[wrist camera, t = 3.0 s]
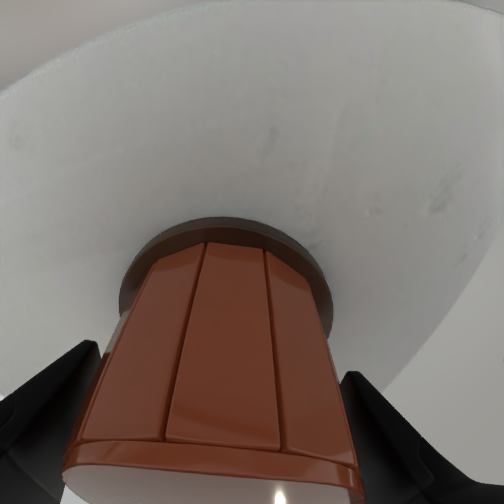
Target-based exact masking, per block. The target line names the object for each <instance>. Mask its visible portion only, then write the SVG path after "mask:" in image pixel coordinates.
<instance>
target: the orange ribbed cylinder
mask: <svg viewBox="0 0 504 504" xmlns="http://www.w3.org/2000/svg"><path fill="white" fill-rule="evenodd" d="M63 458H64V462H63V465H62V468H61V471H60V472H61V478H62V480H63V482H64V483H65V484H66V486H67V487H68V488H69V489H70V490H71V491H72V492H74V493H75V494H76V495H77V496H79V497H80V498H82V499H83V500H84V501H86V502H87V503H89V504H365V502H366V493H365V488H364V485H365V484H364V480H363V475H362V471H361V467H360V462H359V458H358V454H357V450H356V446H355V441H354V437H353V433H352V429H351V425H350V421H349V418H348V414H347V410H346V406H345V402H344V398H343V395H342V391H341V387H340V384H339V380H338V376H337V373H336V369H335V365H334V362H333V358H332V355H331V351H330V348H329V344H328V341H327V337H326V334H325V331H324V327H323V324H322V321H321V317H320V314H319V311H318V308H317V305H316V302H315V299H314V296H313V293H312V290H311V288H310V285H309V283H308V282H307V281H306V278H304V277H303V276H302V275H300V274H299V273H297V272H296V271H295V270H293V269H292V268H291V267H289V266H288V265H286V264H285V263H284V262H282V261H281V260H280V259H278V258H277V257H275V256H274V255H273V254H271V253H270V252H268V251H266V252H265V253H264V254H263V249H260V248H252V247H245V246H237V245H229V244H222V243H214V242H208V244H207V247H206V245H205V244H204V243H200V244H198V245H195V246H193V247H190V248H187V249H185V250H182V251H179V252H177V253H174V254H172V255H169V256H166V257H164V258H161V259H159V260H158V261H157V262H156V263H153V265H152V266H151V268H150V269H149V271H148V272H147V273H146V275H145V276H144V278H143V279H142V281H141V282H140V284H139V285H138V287H137V288H136V290H135V291H134V293H133V294H132V296H131V298H130V300H129V302H128V304H127V306H126V308H125V310H124V312H123V314H122V316H121V318H120V320H119V322H118V324H117V327H116V329H115V331H114V333H113V335H112V337H111V339H110V341H109V343H108V346H107V348H106V350H105V352H104V354H103V357H102V359H101V361H100V363H99V365H98V368H97V370H96V372H95V375H94V377H93V379H92V382H91V384H90V386H89V389H88V391H87V393H86V396H85V398H84V401H83V403H82V406H81V408H80V411H79V413H78V416H77V418H76V421H75V423H74V426H73V429H72V431H71V434H70V437H69V439H68V442H67V445H66V448H65V450H64V453H63Z"/></svg>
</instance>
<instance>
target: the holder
mask: <svg viewBox="0 0 504 504" xmlns="http://www.w3.org/2000/svg"><path fill="white" fill-rule="evenodd" d="M208 242H214V243H222V244H229V245H237V246H245V247H252V248H260V249H263V254H264V253H265V252H266V251H268V252H270V253H271V254H273V255H274V256H275V257H277V258H278V259H280V260H281V261H282V262H284V263H285V264H286V265H288V266H289V267H291V268H292V269H293V270H295V271H296V272H297V273H299V274H300V275H302V276H303V277H304V278H306V281H307V282H308V283H309V285H310V288H311V290H312V293H313V296H314V299H315V302H316V305H317V308H318V311H319V314H320V317H321V321H322V324H323V327H324V331H325V334H326V337H327V339H328V337H329V334H330V331H331V328H332V322H333V302H332V297H331V293H330V290H329V287H328V285H327V282H326V280H325V277H324V275H323V272H322V271H321V269H320V267H319V265H318V264H317V262H316V261H315V259H314V258H313V257H312V256H311V255H310V253H309V252H308V251H307V250H306V249H305V248H304V247H302V246H301V245H300V244H299V243H298V242H297V241H295V240H294V239H292V238H291V237H289V236H288V235H286V234H285V233H283V232H281V231H279V230H277V229H275V228H273V227H271V226H268V225H265V224H262V223H259V222H256V221H252V220H247V219H242V218H233V217H209V218H202V219H196V220H191V221H188V222H185V223H182V224H179V225H176V226H174V227H172V228H170V229H168V230H166V231H164V232H162V233H161V234H159V235H158V236H156V237H155V238H153V239H152V240H151V241H150V242H149V243H148V244H147V245H146V246H145V247H143V248H142V250H141V251H140V252H139V254H138V255H137V256H136V257H135V259H134V260H133V262H132V264H131V265H130V267H129V269H128V271H127V273H126V274H125V276H124V279H123V282H122V285H121V288H120V295H119V313H120V318H121V316H122V314H123V312H124V310H125V308H126V306H127V304H128V302H129V300H130V298H131V296H132V294H133V293H134V291H135V290H136V288H137V287H138V285H139V284H140V282H141V281H142V279H143V278H144V276H145V275H146V273H147V272H148V271H149V269H150V268H151V266H152V265H153V263H156V262H157V261H158V260H159V259H161V258H164V257H166V256H169V255H172V254H174V253H177V252H179V251H182V250H185V249H187V248H190V247H193V246H195V245H198V244H200V243H204V244H205V245H206V247H207V244H208Z"/></svg>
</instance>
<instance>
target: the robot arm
mask: <svg viewBox="0 0 504 504" xmlns="http://www.w3.org/2000/svg"><path fill="white" fill-rule="evenodd" d="M100 361H101V356H100V352H99V348H98V344H97V342H95V341H91V340H84V341H82V342H81V343H79V344H78V345H77V346H75V347H74V348H72V349H71V350H70V351H68V352H67V353H66V354H64V355H63V356H61V357H60V358H59V359H57V360H56V361H55V362H53V363H52V364H50V365H49V366H48V367H46V368H45V369H44V370H42V371H41V372H39V373H38V374H37V375H35V376H34V377H33V378H31V379H30V380H29V381H27V382H26V383H25V384H23V385H22V386H21V387H19V388H18V389H17V390H15V391H14V392H13V393H11V394H10V395H8V396H7V397H6V398H4V399H3V400H2V401H0V504H60V502H61V498H62V495H63V491H64V487H65V483H64V482H63V480H62V478H61V472H60V471H61V468H62V465H63V462H64V458H63V453H64V450H65V448H66V445H67V442H68V439H69V437H70V434H71V431H72V429H73V426H74V423H75V421H76V418H77V416H78V413H79V411H80V408H81V406H82V403H83V401H84V398H85V396H86V393H87V391H88V389H89V386H90V384H91V382H92V379H93V377H94V375H95V372H96V370H97V368H98V365H99V363H100ZM340 387H341V391H342V395H343V398H344V402H345V406H346V410H347V414H348V418H349V421H350V425H351V429H352V433H353V437H354V441H355V446H356V450H357V454H358V458H359V462H360V467H361V471H362V475H363V480H364V484H365V485H364V488H365V493H366V502H365V504H504V486H503V485H494V484H485V483H480V482H476V481H474V480H472V479H470V478H469V477H467V476H466V475H465V474H464V473H462V472H461V471H460V470H459V469H457V468H456V467H455V466H454V465H453V464H451V463H450V462H449V461H448V460H446V459H445V458H444V457H443V456H442V455H441V454H440V453H438V452H437V451H436V450H435V449H434V448H433V447H432V446H431V445H430V444H429V443H428V442H427V441H426V440H425V439H424V438H423V437H421V435H420V434H419V433H418V432H417V431H416V430H415V429H414V428H413V427H412V426H411V424H410V423H409V422H408V421H407V420H406V419H405V418H403V416H402V415H401V414H400V413H399V412H398V411H397V410H396V409H395V408H394V407H393V406H392V405H391V404H390V403H389V402H388V401H387V400H386V399H385V398H384V397H383V396H382V395H381V394H380V392H379V391H378V390H377V389H376V388H375V387H374V386H373V385H372V384H371V383H370V382H369V381H368V380H367V379H366V378H365V377H364V376H363V375H362V374H361V373H360V372H358V371H348V372H347V373H346V374H345V376H344V378H343V380H342V381H341V383H340Z"/></svg>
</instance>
